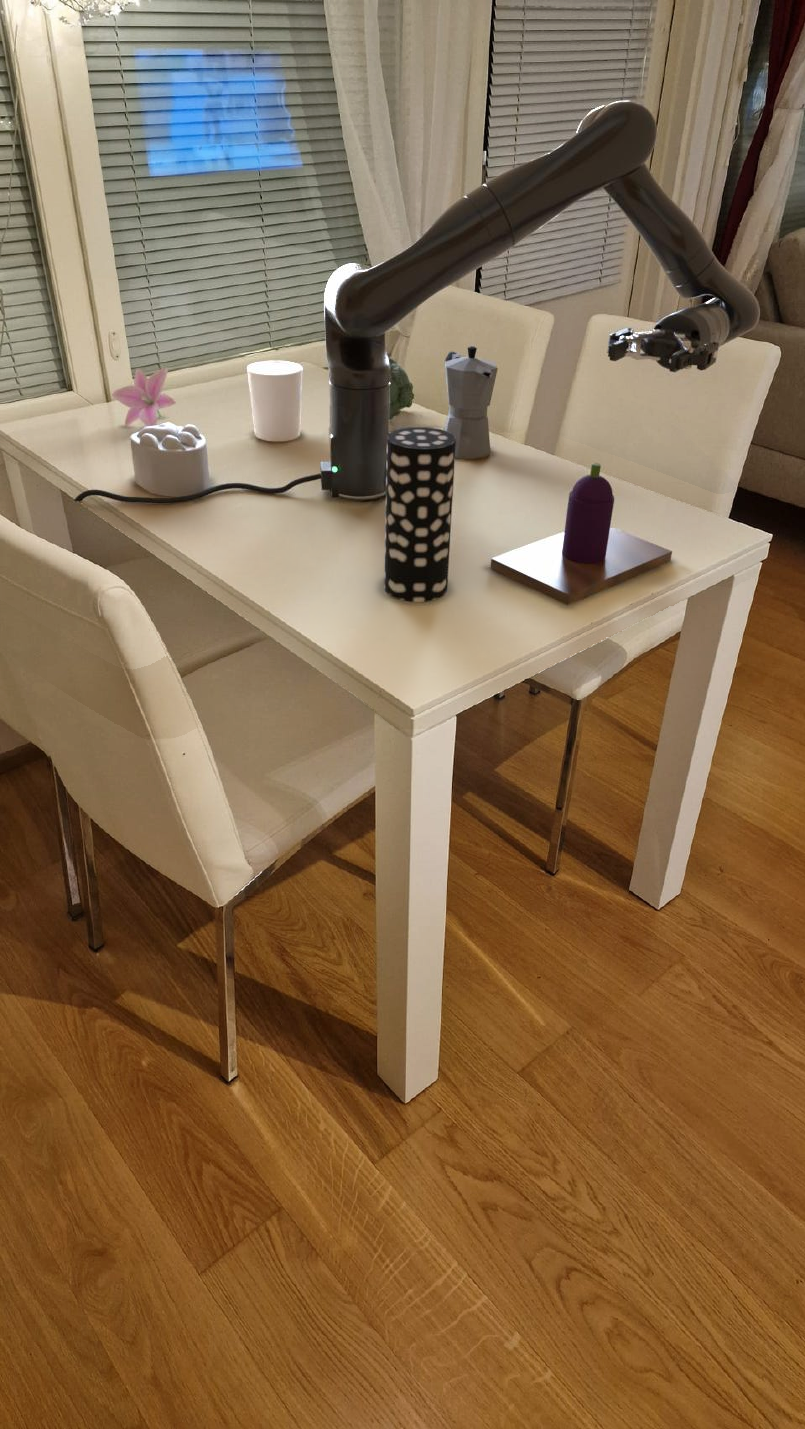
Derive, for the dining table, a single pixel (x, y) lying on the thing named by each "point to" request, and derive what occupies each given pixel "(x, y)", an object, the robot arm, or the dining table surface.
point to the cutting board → (579, 566)
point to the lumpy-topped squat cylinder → (170, 460)
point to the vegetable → (399, 389)
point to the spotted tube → (418, 512)
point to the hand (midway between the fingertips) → (642, 358)
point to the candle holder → (276, 399)
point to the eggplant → (588, 518)
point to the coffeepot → (469, 402)
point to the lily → (144, 397)
